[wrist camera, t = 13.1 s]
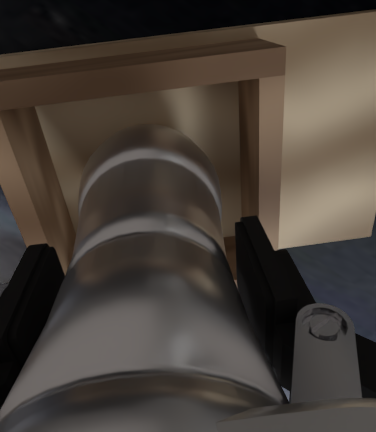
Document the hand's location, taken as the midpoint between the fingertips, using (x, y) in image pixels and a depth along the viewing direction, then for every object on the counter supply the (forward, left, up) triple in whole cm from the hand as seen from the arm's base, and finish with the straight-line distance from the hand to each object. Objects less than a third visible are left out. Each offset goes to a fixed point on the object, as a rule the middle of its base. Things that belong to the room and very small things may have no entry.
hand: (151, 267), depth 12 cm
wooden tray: (0, +3, -10) cm, 10 cm away
